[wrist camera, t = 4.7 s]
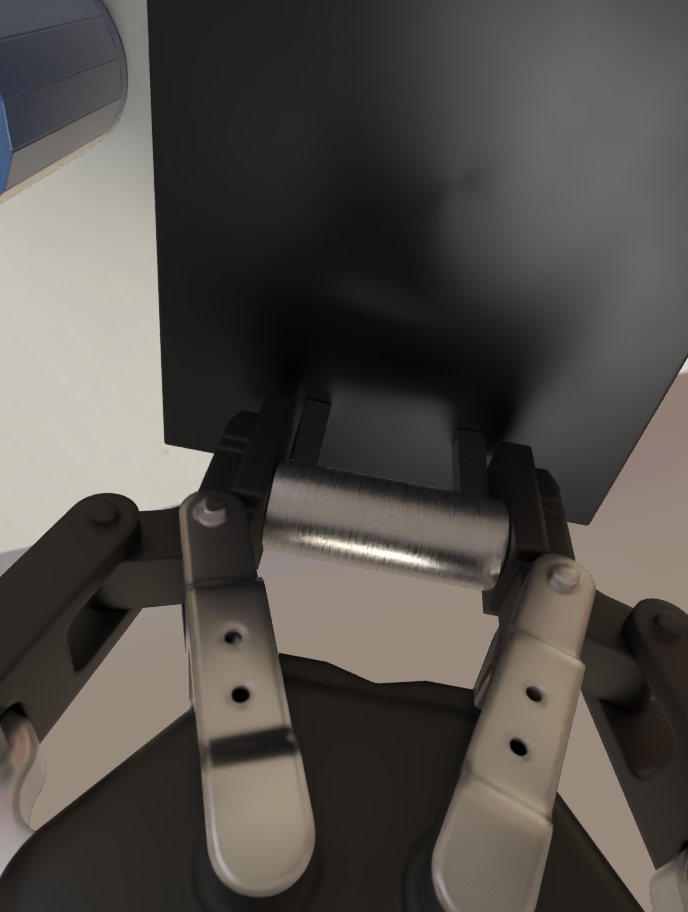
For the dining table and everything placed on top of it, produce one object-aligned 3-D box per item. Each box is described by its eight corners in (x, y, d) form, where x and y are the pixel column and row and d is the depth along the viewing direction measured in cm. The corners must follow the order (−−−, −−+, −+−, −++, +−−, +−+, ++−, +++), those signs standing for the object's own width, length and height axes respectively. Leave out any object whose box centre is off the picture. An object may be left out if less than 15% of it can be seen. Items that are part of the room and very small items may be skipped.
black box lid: (583, 508, 19) (625, 672, 14) (172, 428, 18) (95, 570, 14) (1109, -417, 8) (1844, -804, 4) (143, -621, 8) (-193, -1254, 4)
